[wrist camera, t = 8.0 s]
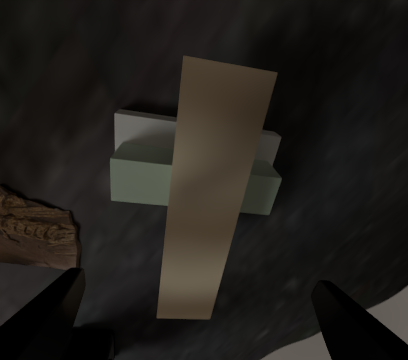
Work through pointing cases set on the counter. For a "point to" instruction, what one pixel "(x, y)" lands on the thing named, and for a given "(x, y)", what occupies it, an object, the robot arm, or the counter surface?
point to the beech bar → (208, 179)
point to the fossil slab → (36, 234)
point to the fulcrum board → (168, 130)
